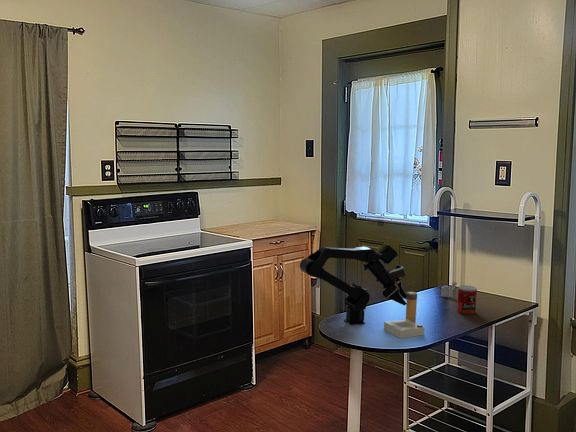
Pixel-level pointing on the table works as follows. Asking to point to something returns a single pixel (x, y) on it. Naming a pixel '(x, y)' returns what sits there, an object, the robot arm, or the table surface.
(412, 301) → the plug
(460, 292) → the canned food
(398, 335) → the socket block
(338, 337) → the table surface
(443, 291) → the lighter
